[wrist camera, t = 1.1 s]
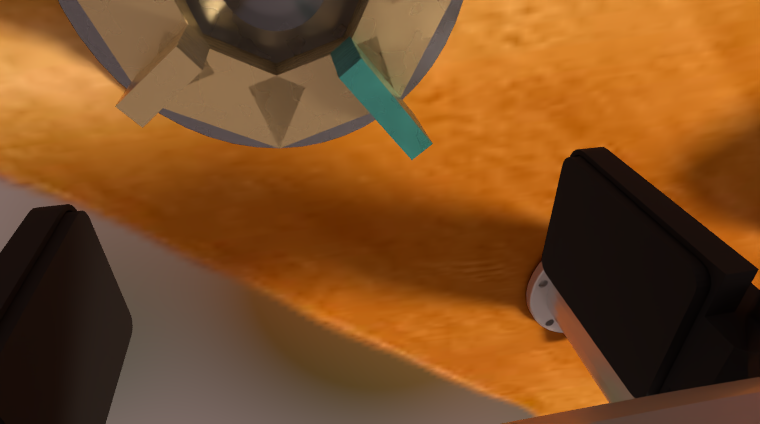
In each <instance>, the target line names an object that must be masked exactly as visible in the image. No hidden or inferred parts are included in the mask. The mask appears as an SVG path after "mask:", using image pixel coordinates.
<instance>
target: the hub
mask: <svg viewBox="0 0 760 424" xmlns="http://www.w3.org/2000/svg"><path fill="white" fill-rule="evenodd" d="M58 1H59V3H60V5H61V7H62V9H63V11H64V12H65V14H66V16H67V17H68V19H69V21H70V22H71V24H72V25H73V27H74V29H75V30H76V32H77V34H78V35H79V36H80V38H81V39H82V40H83V42H84V43H85V44H86V46H87V47H88V48H89V49H90V51H91V52H92V53H93V55H94V56H95V57H96V59H97V60H98V61H99V62H100V63H101V64H102V65H103V66H104V67H105V68H106V69H107V70H108V71H109V72H110V73H111V74H112V76H113V77H114V78H115V79H116V80H117V81H118V82H119V83H121V84H122V85H123V86H124V87H125V88H128V87H129V85H130V84H131V81H130V79H129V78H128V76H127V75H126V73H125V72H124V70H123V69H122V67H121V66H120V64H119V62H118V61H117V59H116V58H115V56H114V55H113V53H112V52H111V50H110V49H109V47H108V46H107V44H106V43H105V41H104V40H103V38H102V37H101V35H100V34H99V32H98V31H97V29H96V28H95V26H94V25H93V23H92V22H91V20H90V19H89V17H88V16H87V14H86V13H85V11H84V10H83V8H82V7H81V5H80V4H79V2H78V1H77V0H58ZM185 1H186V3H187V5H188V6H189V8H190V10H191V12H192V14H193V16H194V18H195V20H196V21H197V23H198V25H199V27H200V29H201V31H202V33H204V34H206V35H209V36H211V37H214V38H216V39H218V40H221V41H223V42H226V43H228V44H230V45H233V46H235V47H238V48H240V49H242V50H245V51H247V52H250V53H252V54H255V55H257V56H259V57H262V58H264V59H267V60H269V61H271V62H274V63H278V62H281V61H283V60H286V59H288V58H291V57H293V56H296V55H298V54H301V53H303V52H306V51H309V50H311V49H314V48H316V47H319V46H321V45H324V44H326V43H329V42H331V41H334V40H336V39H339V38H341V37H343V36H344V33H345V31H346V29H347V26H348V24H349V22H350V20H351V17H352V15H353V13H354V10H355V8H356V6H357V4H358V1H359V0H185ZM462 2H463V0H451V2H450V4H449V6H448V7H447V9H446V11H445V13H444V15H443V17H442V19H441V21H440V23H439V25H438V27H437V29H436V30H435V32H434V34H433V36H432V38H431V40H430V42H429V44H428V46H427V48H426V50H425V52H424V53H423V55H422V57H421V59H420V61H419V63H418V65H417V67H416V69H415V71H414V73H413V75H412V77H411V78H410V80H409V82H408V84H407V86H406V88H405V90H404V92H403V94H402V96H401V99H402V100H403V98H404V97H405V96H406V95H407V94H408V93H409V92H410V91H411V90H412V89H413V88H414V87H415V86H416V85H417V84H418V83H419V82H420V81H421V79H422V78H423V77H424V76H425V74H426V73H427V72H428V70H429V69H430V68H431V67H432V65H433V64H434V62H435V60H436V59H437V57H438V56H439V54H440V52H441V51H442V49H443V47H444V46H445V44H446V42H447V40H448V37H449V35H450V33H451V31H452V29H453V27H454V25H455V22H456V20H457V17H458V14H459V11H460V8H461V5H462ZM159 113H160V114H162V115H163V116H165V117H167V118H169V119H171V120H173V121H175V122H176V123H178V124H180V125H182V126H184V127H186V128H188V129H191V130H193V131H196V132H198V133H201V134H203V135H206V136H208V137H212V138H215V139H219V140H222V141H226V142H230V143H234V144H240V145H246V146H253V147H266V148H277V147H274V146H271V145H268V144H265V143H262V142H260V141H257V140H254V139H251V138H248V137H245V136H242V135H239V134H236V133H233V132H231V131H228V130H225V129H222V128H219V127H216V126H213V125H210V124H207V123H205V122H202V121H199V120H196V119H193V118H190V117H187V116H184V115H181V114H179V113H176V112H173V111H170V110H167V109H164V108H163V109H162V110H160V111H159ZM374 120H376V119H375V118H374V117H373V116H372V115H371V114H370V113H369V114H367V115H364V116H362V117H359V118H356V119H354V120H351V121H349V122H346V123H344V124H341V125H338V126H336V127H333V128H331V129H328V130H326V131H323V132H320V133H318V134H315V135H313V136H310V137H308V138H305V139H302V140H300V141H297V142H295V143H292V144H290V145H287V146H284V147H282V148H287V147H301V146H307V145H312V144H317V143H322V142H326V141H329V140H332V139H335V138H338V137H341V136H344V135H347V134H349V133H351V132H353V131H355V130H358V129H360V128H362V127H364V126H366V125H368V124H369V123H371V122H372V121H374Z"/></svg>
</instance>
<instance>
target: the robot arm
mask: <svg viewBox="0 0 760 424" xmlns="http://www.w3.org/2000/svg"><path fill="white" fill-rule="evenodd" d="M758 270H759V269H758V268H756V267H755V266H754V265H752V264H751V263H750V262H749V261H747V260H746V259H745V258H744V257H742V256H741V255H740V254H739V253H737V252H736V251H735V250H734V249H732V248H731V247H730V246H729V245H727V244H726V243H725V242H724V241H722V240H721V239H720V238H718V237H717V236H716V235H715V234H713V233H712V232H711V231H710V230H708V229H707V228H706V227H705V226H703V225H702V224H701V223H700V222H698V221H697V220H696V219H695V218H693V217H692V216H691V215H690V214H688V213H687V212H686V211H684V210H683V209H682V208H681V207H679V206H678V205H677V204H676V203H674V202H673V201H672V200H671V199H669V198H668V197H667V196H666V195H664V194H663V193H662V192H661V191H659V190H658V189H657V188H656V187H654V186H653V185H652V184H651V183H649V182H648V181H647V180H645V179H644V178H643V177H642V176H640V175H639V174H638V173H637V172H635V171H634V170H633V169H632V168H630V167H629V166H628V165H627V164H625V163H624V162H623V161H622V160H620V159H619V158H618V157H617V156H615V155H614V154H613V153H611V152H610V151H609V150H608V149H606V148H604V147H597V148H587V149H578V150H575V151H573V152H572V154H571V155H570V157H568V158H566V159H565V160H564V162H563V165H562V169H561V174H560V178H559V183H558V187H557V192H556V196H555V201H554V205H553V210H552V214H551V219H550V223H549V227H548V232H547V236H546V241H545V245H544V250H543V254H542V261H541V262H540V263H539V265H538V266H537V268H536V269H535V271H534V272H533V274H532V276H531V278H530V281H529V283H528V287H527V292H526V301H527V305H528V308H529V311H530V312H531V314H532V316H533V317H534V319H535V320H536V321H537V322H538V323H539V324H540V325H541V326H542V327H544V328H546V329H548V330H550V331H554V332H558V333H564V334H565V336H566V337H567V339H568V340H569V342H570V343H571V345H572V346H573V348H574V349H575V351H576V352H577V354H578V356H579V357H580V359H581V360H582V362H583V363H584V365H585V366H586V368H587V369H588V371H589V372H590V374H591V375H592V377H593V378H594V380H595V382H596V383H597V385H598V386H599V388H600V389H601V391H602V392H603V394H604V395H605V397H606V398H607V400H608V401H609V403H608V404H603V405H598V406H592V407H587V408H582V409H576V410H571V411H566V412H560V413H555V414H550V415H544V416H539V417H534V418H528V419H523V420H518V421H513V422H508V423H502V424H760V290H759V289H758V288H757V287H755V286H754V285H753V284H752V283H751V282H752V280H753V279H754V277H755V275H756V273H757V271H758ZM131 334H132V318H131V315H130V312H129V310H128V308H127V305H126V303H125V301H124V298H123V296H122V293H121V291H120V289H119V287H118V284H117V282H116V279H115V277H114V275H113V272H112V270H111V268H110V265H109V263H108V261H107V258H106V256H105V253H104V251H103V249H102V247H101V244H100V242H99V239H98V237H97V235H96V232H95V230H94V228H93V225H92V223H91V221H90V218H89V216H88V215H87V213H86V212H84V211H77V210H76V209H75V208H74V207H73V206H72V205H70V204H66V205H57V206H48V207H39V208H33V209H32V210H31V211H30V212H29V213H28V214H27V216H26V217H25V219H24V220H23V221H22V223H21V224H20V226H19V227H18V229H17V230H16V232H15V233H14V234H13V236H12V237H11V239H10V240H9V241H8V243H7V244H6V246H5V247H4V248H3V250H2V251H1V253H0V424H106V420H107V417H108V413H109V410H110V406H111V403H112V399H113V396H114V393H115V389H116V386H117V382H118V379H119V376H120V372H121V369H122V365H123V362H124V359H125V355H126V352H127V348H128V345H129V341H130V338H131Z"/></svg>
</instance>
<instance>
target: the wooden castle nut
mask: <svg viewBox="0 0 760 424" xmlns="http://www.w3.org/2000/svg"><path fill="white" fill-rule="evenodd" d="M77 1H78V2H79V4H80V5H81V7H82V8H83V10H84V11H85V13H86V14H87V16H88V17H89V19H90V20H91V22H92V23H93V25H94V26H95V28H96V29H97V31H98V32H99V34H100V35H101V37H102V38H103V40H104V41H105V43H106V44H107V46H108V47H109V49H110V50H111V52H112V53H113V55H114V56H115V58H116V59H117V61H118V62H119V64H120V66H121V67H122V69H123V70H124V72H125V73H126V75H127V76H128V78H129V79H130V81H131V84H130V85H129V87H128V88H127V90H126V91H125V93H124V94H123V96H122V97H121V99H120V100H119V102H118V103H117V105H116V106H115V107H117V108H118V109H119V110H121V111H122V112H123V113H124V114H126V115H127V116H128V117H130V118H131V119H132V120H133V121H135V122H136V123H137V124H139V125H140V126H141V127H142V128H143V127H144V126H145V125H146V124H147V123H148V122H149V121H150V120H151V119H152V118H153V117H154V116H155V115H156V114H157V113H158V112H159V111H160V110H162V109H163V108H164V109H167V110H170V111H173V112H176V113H179V114H181V115H184V116H187V117H190V118H193V119H196V120H199V121H202V122H205V123H207V124H210V125H213V126H216V127H219V128H222V129H225V130H228V131H231V132H233V133H236V134H239V135H242V136H245V137H248V138H251V139H254V140H257V141H260V142H262V143H265V144H268V145H271V146H274V147H277V148H282V147H284V146H287V145H290V144H292V143H295V142H297V141H300V140H302V139H305V138H308V137H310V136H313V135H315V134H318V133H320V132H323V131H326V130H328V129H331V128H333V127H336V126H338V125H341V124H344V123H346V122H349V121H351V120H354V119H356V118H359V117H362V116H364V115H367V114H369V113H370V114H371V115H372V116H373V117H374V118H375V119H376V120H377V121H378V123H379V124H380V125H381V126H382V127H383V128H384V129H385V130H386V132H387V133H388V134H389V135H390V136H391V137H392V138H393V139H394V141H395V142H396V143H397V144H398V145H399V146H400V147H401V148H402V149H403V151H404V152H405V153H406V154H407V155H408V156H409V157H410V158H411V160H413V159H414V158H415V157H416V156H418V155H419V154H420V153H421V152H423V151H424V150H425V149H427V148H428V147H429V146H430V145H432V144H433V143H432V142H431V140H430V139H429V137H428V135H427V134H426V132H425V131H424V129H423V127H422V126H421V124H420V123H419V121H418V120H417V118H416V116H415V115H414V113H413V112H412V111H411V110H410V109H409V107H408V106H407V105H406V104H405V102H404V101H403V100H402V99H401V96H402V94H403V92H404V90H405V88H406V86H407V84H408V82H409V80H410V78H411V77H412V75H413V73H414V71H415V69H416V67H417V65H418V63H419V61H420V59H421V57H422V55H423V53H424V52H425V50H426V48H427V46H428V44H429V42H430V40H431V38H432V36H433V34H434V32H435V30H436V29H437V27H438V25H439V23H440V21H441V19H442V17H443V15H444V13H445V11H446V9H447V7H448V6H449V4H450V2H451V0H359V1H358V4H357V6H356V8H355V10H354V13H353V15H352V17H351V20H350V22H349V24H348V26H347V29H346V31H345V33H344V36H343V37H341V38H339V39H336V40H334V41H331V42H329V43H326V44H324V45H321V46H319V47H316V48H314V49H311V50H309V51H306V52H303V53H301V54H298V55H296V56H293V57H291V58H288V59H286V60H283V61H281V62H278V63H274V62H271V61H269V60H267V59H264V58H262V57H259V56H257V55H255V54H252V53H250V52H247V51H245V50H242V49H240V48H238V47H235V46H233V45H230V44H228V43H226V42H223V41H221V40H218V39H216V38H214V37H211V36H209V35H206V34H204V33H202V31H201V29H200V27H199V25H198V23H197V21H196V20H195V18H194V16H193V14H192V12H191V10H190V8H189V6H188V5H187V3H186V1H185V0H77Z"/></svg>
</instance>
